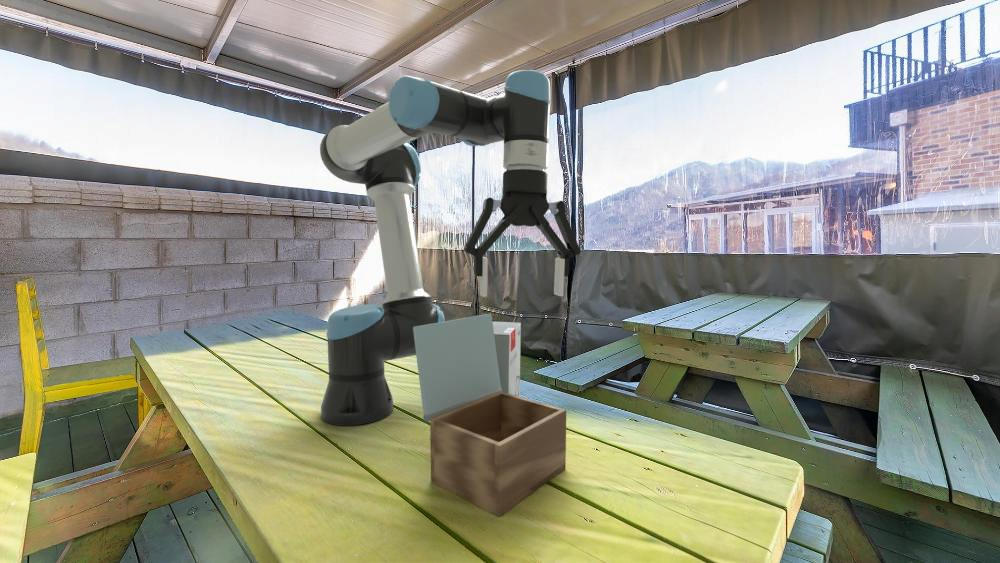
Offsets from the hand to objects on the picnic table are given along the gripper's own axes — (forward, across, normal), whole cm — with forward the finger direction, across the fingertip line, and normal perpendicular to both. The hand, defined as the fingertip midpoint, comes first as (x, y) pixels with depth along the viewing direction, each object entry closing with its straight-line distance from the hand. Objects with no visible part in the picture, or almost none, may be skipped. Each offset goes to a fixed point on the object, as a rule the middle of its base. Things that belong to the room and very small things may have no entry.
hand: (521, 295), depth 76 cm
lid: (+11, -10, -1) cm, 15 cm away
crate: (+28, -5, -8) cm, 29 cm away
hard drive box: (+29, 0, +15) cm, 32 cm away
